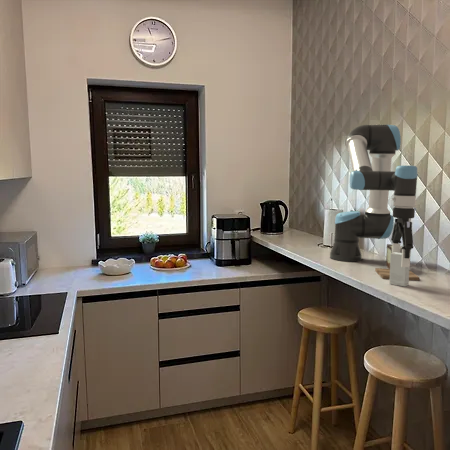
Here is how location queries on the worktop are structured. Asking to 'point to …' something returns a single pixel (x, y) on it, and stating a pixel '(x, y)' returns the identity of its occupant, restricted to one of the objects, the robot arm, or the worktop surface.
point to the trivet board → (386, 274)
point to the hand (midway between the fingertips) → (400, 263)
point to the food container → (389, 251)
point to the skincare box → (398, 270)
